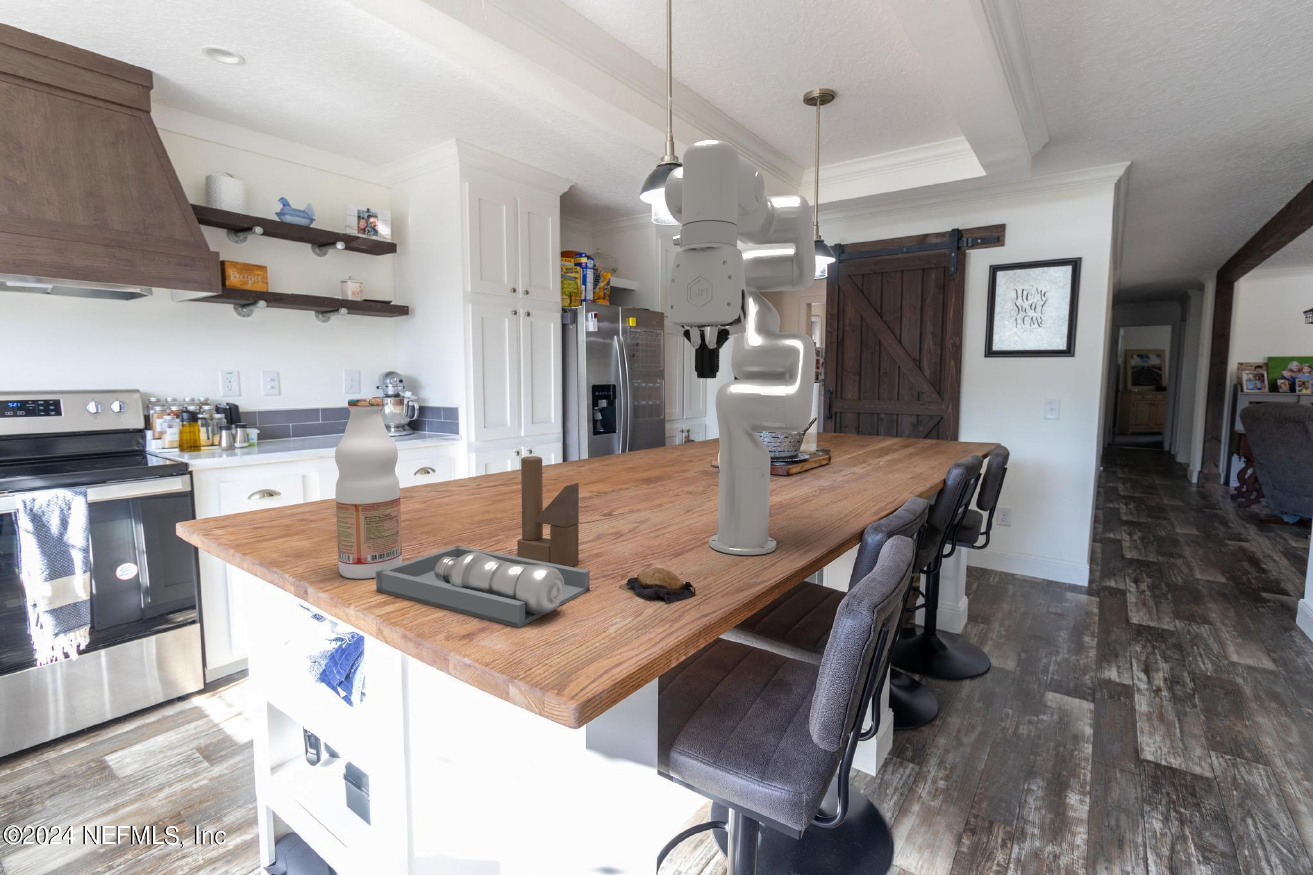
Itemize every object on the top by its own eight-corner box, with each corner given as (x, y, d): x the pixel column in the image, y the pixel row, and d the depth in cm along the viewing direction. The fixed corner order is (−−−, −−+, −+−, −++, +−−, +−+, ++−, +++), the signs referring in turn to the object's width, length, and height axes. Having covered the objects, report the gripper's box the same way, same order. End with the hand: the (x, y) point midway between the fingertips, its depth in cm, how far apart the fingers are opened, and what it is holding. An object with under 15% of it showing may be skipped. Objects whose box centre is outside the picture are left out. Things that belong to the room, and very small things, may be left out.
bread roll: (614, 591, 93) (614, 568, 93) (655, 579, 99) (655, 557, 99) (662, 611, 86) (662, 586, 85) (703, 596, 91) (703, 572, 91)
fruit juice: (326, 579, 95) (318, 399, 93) (356, 561, 105) (350, 397, 102) (386, 580, 95) (380, 400, 92) (411, 562, 105) (406, 398, 102)
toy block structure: (566, 570, 102) (566, 462, 100) (516, 560, 107) (515, 457, 105) (579, 564, 105) (579, 459, 103) (530, 554, 110) (529, 455, 108)
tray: (457, 562, 105) (457, 545, 104) (589, 589, 92) (589, 570, 92) (376, 591, 91) (375, 571, 90) (519, 628, 78) (518, 605, 78)
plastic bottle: (542, 626, 78) (427, 598, 87) (572, 605, 84) (461, 581, 93) (539, 578, 77) (423, 555, 86) (570, 560, 83) (459, 540, 92)
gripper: (647, 241, 83) (646, 377, 85) (752, 230, 76) (749, 379, 78) (672, 251, 89) (670, 377, 91) (771, 242, 82) (767, 379, 84)
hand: (706, 377), depth 85 cm, fingers closed
